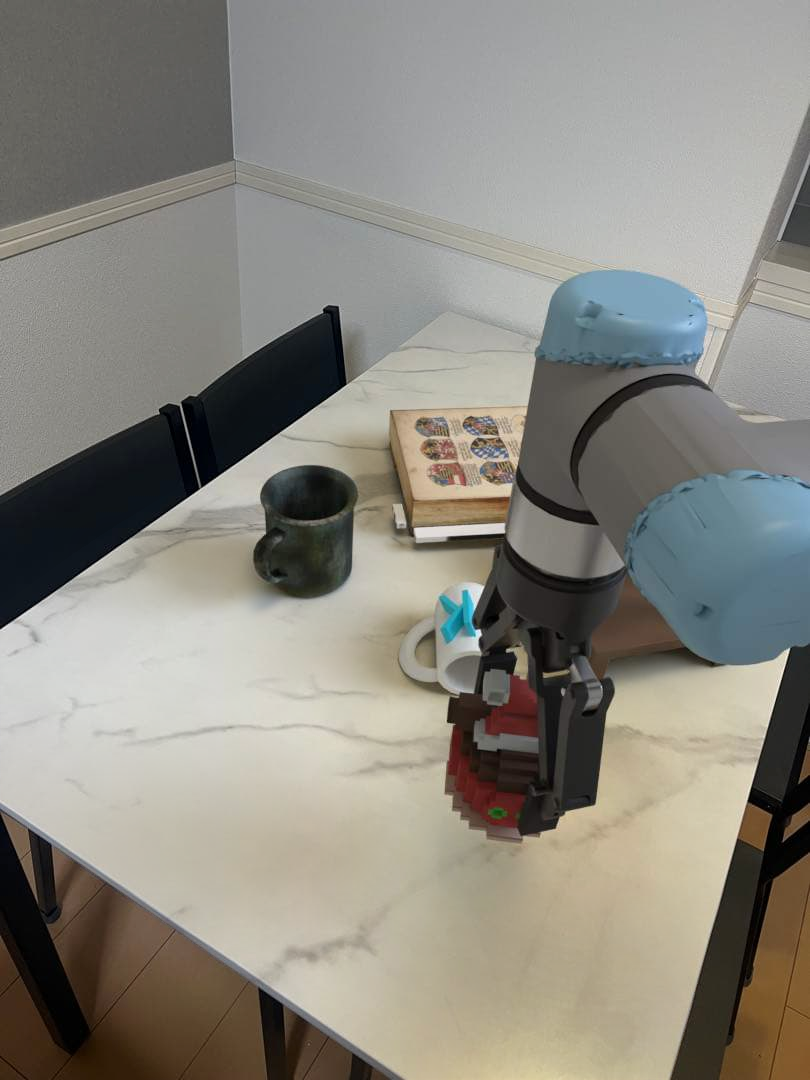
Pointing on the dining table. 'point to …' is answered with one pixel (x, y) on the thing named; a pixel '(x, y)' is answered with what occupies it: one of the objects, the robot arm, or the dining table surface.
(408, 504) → the book
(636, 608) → the shelf
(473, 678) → the mug
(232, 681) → the dining table surface
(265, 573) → the mug
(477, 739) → the cake
